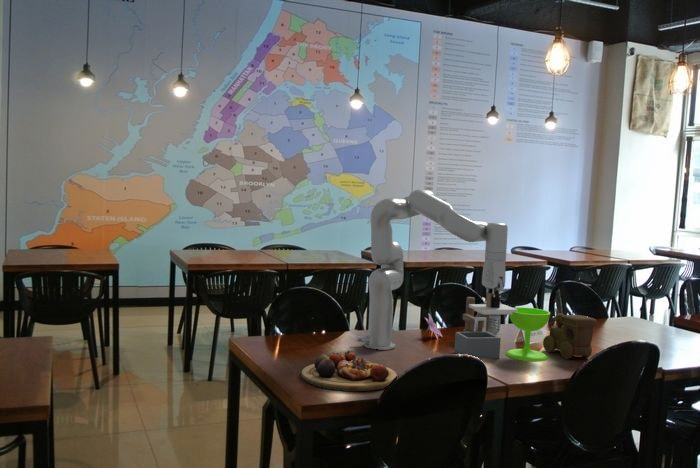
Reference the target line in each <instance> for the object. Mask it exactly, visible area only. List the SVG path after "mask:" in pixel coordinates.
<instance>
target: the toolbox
mask: <svg viewBox="0 0 700 468" xmlns="http://www.w3.org/2000/svg"><path fill="white" fill-rule="evenodd" d="M474 317H475V316H474ZM478 320H483V321H484V327H483V328H482V332H478ZM473 329H474V332H463V331H455V334H454V335H455V336H454V353H456V354H457V353H460V354H468V355H472V356H475V357H478V358H480V360H482V359H483V360H484V359H485V360H486V359H490V360H493V359H500V355H501V337H499V336H497V335H494V334H492V333H490V332H486V317H475V325H473Z"/></svg>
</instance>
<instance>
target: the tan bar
mask: <svg viewBox="0 0 700 468" xmlns="http://www.w3.org/2000/svg"><path fill="white" fill-rule="evenodd" d="M462 321H464V322H465V321H467V322H469V323H471V324H473V326H474V325H475V316H474V317H473V316H471V315H469V314H466V313H462ZM478 327H484V321H482V320H478Z"/></svg>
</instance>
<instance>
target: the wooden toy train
mask: <svg viewBox="0 0 700 468" xmlns="http://www.w3.org/2000/svg"><path fill="white" fill-rule="evenodd" d="M554 320H555V323H556V325H554V326H551V327H550V328H549V335H546V336H544V338H543V341H542V345H543V349H544V350H545V351H546V352H547V353H551V354H552V353H554V352H555V350H558V351H559V353H560V355H561V357H562V358H563V359H565V360H570V359H572V358H573V356H575V357H582V358H584V359H588V358H590V356H592V351H593V348H592V345H591V344H592V342H593V341H592V340H593V334H594V327H598V326H597V323H598V320H597V319H595V318H594V317H589V316H586V315H581V314H566V315H565V314H564V313H559V312H558V313H557V314H556V315H555V317H554Z"/></svg>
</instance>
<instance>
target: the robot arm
mask: <svg viewBox="0 0 700 468" xmlns="http://www.w3.org/2000/svg"><path fill="white" fill-rule="evenodd" d="M418 215H421V216H423V217H425V218H427V219H429V220H431V221H433V222H434V223H437V224H438V225H440V227H442V228H443V229H445V230H446V231H447V232H448V233H450V234H452V235H454V236H456V237H457V238H460V239H461V240H463V241H465V242H468V243H474V242H477V243H478V242H485V249H484V250H485V251H484V252H485V254H484V263H483V268H482V275H481V285H482V286H484V288H485V292H486V293H485V294H486V295H487V293H492V296H493V297H491V308H499V307H500V302H501V297H502V293H504V291H505V289H504V288H505V286H506V274H507V273H506V261H507V249H508V248H507V247H508V230H509V229H508V225H507V224H506V223H503V222H486V221H482V220H477V221H476V220H473V221H472V220H470V219H469V218H467V217H465V216H463V215H462V214H461V215H460V214H459V213H458V212H457V211H456V210H454V209H453V206H452V205H451V204H450V203H448V202H446V201H444V200H443V199H440V198H438V197H437V196H436V194H435V193H434V192H433V191H431V190H428V189H415V190H413V191H411V192H410V193H409V195H408V196H405V197H403V198H398V197H397V198H396V197H389V198H384V199H382V200H380V201H378V202H377V203H376V204H375V205H373V207H372V210H371V213H370V248H371V249H370V251H371V252H370V253H371V254H370V256H371V259H372V261H373V263H375V264H376V265H377V266H378V265H379V266H381V267H380V268H377V269H374V270H373V271H372V272H371V274H370V275H369V277H368V282H367V283H368V290H369V291H368V292H369V307H368V309H369V310H368V311H369V313H368V328H367V329H368V331H367V333H366V334H365V335H363V336H356V339H355V341H356V342H361V343H363V346H364V347H365V348H367V349H370V348H371V349H370V350H376V349H378V350H379V351H382V350H383V351H386V350H387V351H388V350H393V349H395V348H396V344H395V343H394V342H393V341H392V337H393V319H394V318H393V317H394V315H393V314H394V297H393V293H392V291H394V290H397V289H399V288H400V287H401V286H402V285H403V282H404V251H403V248H402V246H401V245H400V243H398V242H397V241H395V240H393V227H392V224H391V221H392V220H406V219H410V218H412V217H416V216H418ZM378 350H377V351H378Z"/></svg>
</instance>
